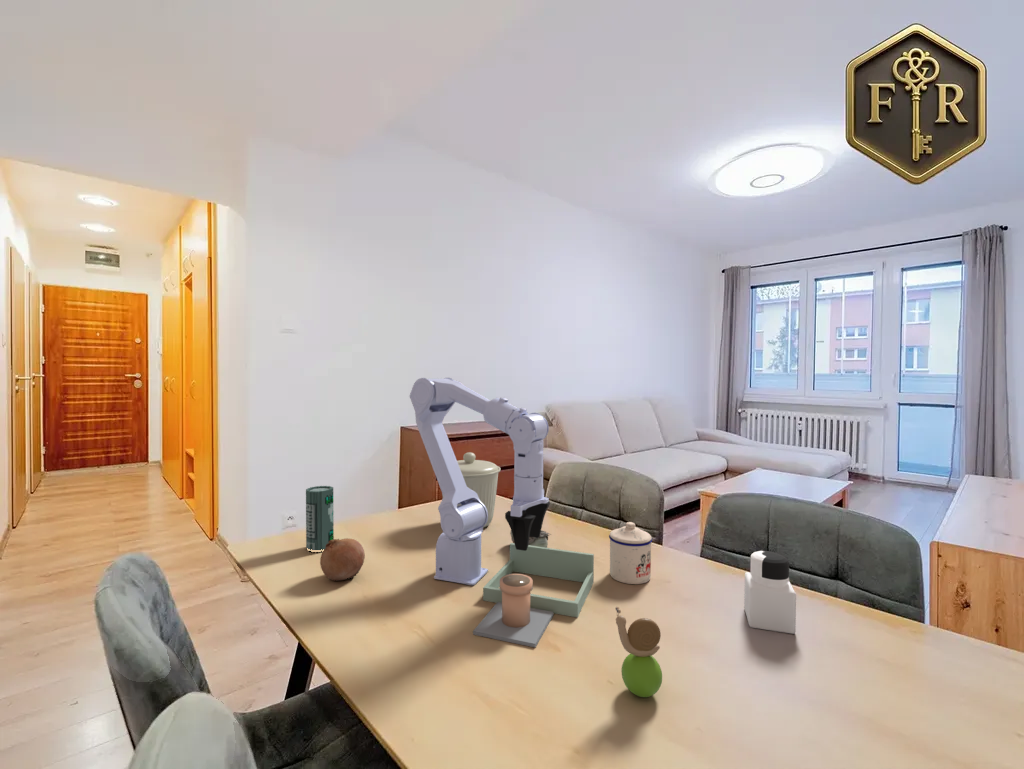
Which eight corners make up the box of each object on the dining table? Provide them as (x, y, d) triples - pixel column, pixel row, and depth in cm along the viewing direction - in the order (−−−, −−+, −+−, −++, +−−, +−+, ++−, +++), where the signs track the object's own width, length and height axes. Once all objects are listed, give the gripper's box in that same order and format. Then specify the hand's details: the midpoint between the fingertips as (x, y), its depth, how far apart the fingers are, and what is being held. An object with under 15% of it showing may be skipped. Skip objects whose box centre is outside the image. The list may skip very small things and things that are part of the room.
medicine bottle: (786, 615, 88) (788, 550, 87) (796, 635, 81) (797, 564, 81) (743, 608, 90) (744, 545, 90) (749, 627, 83) (750, 559, 83)
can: (337, 547, 120) (337, 488, 120) (314, 554, 116) (313, 493, 115) (325, 542, 124) (325, 484, 124) (302, 548, 120) (302, 488, 119)
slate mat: (473, 634, 81) (473, 630, 81) (497, 604, 91) (497, 601, 91) (535, 647, 77) (535, 643, 77) (553, 615, 87) (553, 611, 87)
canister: (510, 520, 143) (510, 450, 143) (482, 539, 127) (482, 460, 126) (458, 512, 151) (458, 446, 150) (425, 529, 134) (425, 455, 134)
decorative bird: (524, 542, 125) (524, 511, 125) (558, 566, 110) (558, 531, 110) (504, 545, 123) (504, 514, 123) (536, 570, 107) (536, 535, 107)
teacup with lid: (643, 589, 98) (644, 532, 97) (602, 578, 103) (602, 524, 102) (661, 569, 108) (661, 518, 107) (622, 560, 113) (622, 511, 112)
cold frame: (483, 600, 93) (483, 569, 93) (510, 569, 107) (511, 542, 107) (577, 617, 86) (577, 584, 86) (593, 582, 101) (593, 554, 101)
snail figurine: (609, 681, 68) (610, 598, 68) (653, 679, 69) (654, 597, 69) (621, 708, 63) (622, 618, 63) (668, 705, 64) (669, 616, 63)
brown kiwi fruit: (325, 595, 101) (302, 557, 99) (349, 567, 109) (329, 532, 108) (357, 586, 98) (334, 547, 96) (380, 559, 106) (359, 522, 104)
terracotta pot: (494, 625, 82) (494, 584, 82) (506, 609, 88) (506, 571, 88) (526, 631, 80) (526, 590, 80) (536, 615, 86) (536, 576, 86)
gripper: (536, 484, 86) (535, 559, 87) (558, 469, 100) (557, 534, 100) (500, 481, 89) (499, 553, 89) (526, 466, 103) (525, 529, 103)
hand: (528, 542), depth 95 cm, fingers open, 7 cm apart
